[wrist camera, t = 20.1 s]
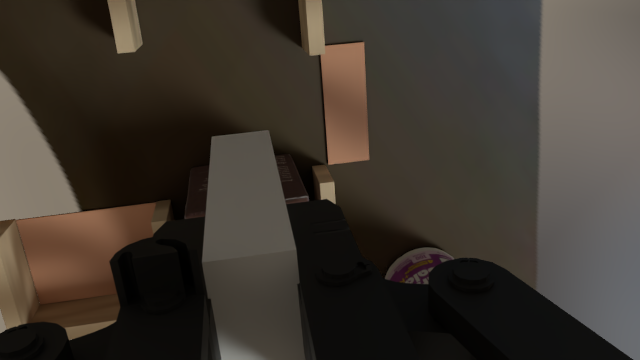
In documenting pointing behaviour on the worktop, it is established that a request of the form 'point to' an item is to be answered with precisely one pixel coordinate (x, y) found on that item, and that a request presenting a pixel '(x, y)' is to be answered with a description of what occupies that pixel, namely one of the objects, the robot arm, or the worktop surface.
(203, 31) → the worktop surface
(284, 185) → the box
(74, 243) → the tray
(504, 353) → the robot arm
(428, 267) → the pill bottle
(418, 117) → the worktop surface
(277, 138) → the worktop surface
